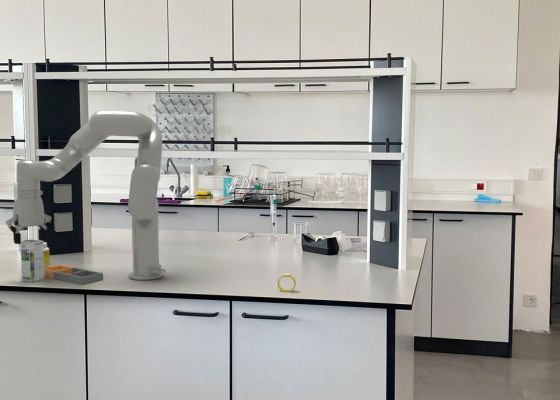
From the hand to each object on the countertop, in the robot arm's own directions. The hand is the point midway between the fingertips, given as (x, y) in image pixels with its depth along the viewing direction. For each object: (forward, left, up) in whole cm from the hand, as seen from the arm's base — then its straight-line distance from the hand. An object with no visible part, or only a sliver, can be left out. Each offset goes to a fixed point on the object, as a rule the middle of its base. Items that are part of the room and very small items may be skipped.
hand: (29, 242), depth 223 cm
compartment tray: (-8, -10, -14) cm, 19 cm away
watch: (-85, -39, -14) cm, 95 cm away
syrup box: (0, 0, -14) cm, 14 cm away
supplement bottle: (+14, -13, -14) cm, 24 cm away
